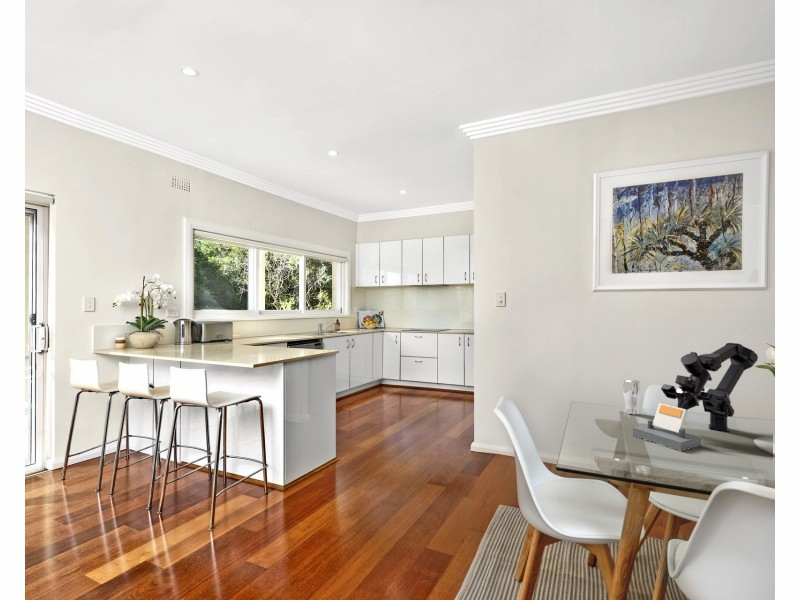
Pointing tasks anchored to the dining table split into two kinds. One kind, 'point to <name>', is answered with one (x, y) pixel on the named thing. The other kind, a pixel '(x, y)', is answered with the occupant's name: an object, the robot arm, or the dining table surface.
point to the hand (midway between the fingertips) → (678, 412)
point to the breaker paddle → (670, 418)
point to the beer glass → (631, 395)
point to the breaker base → (667, 436)
